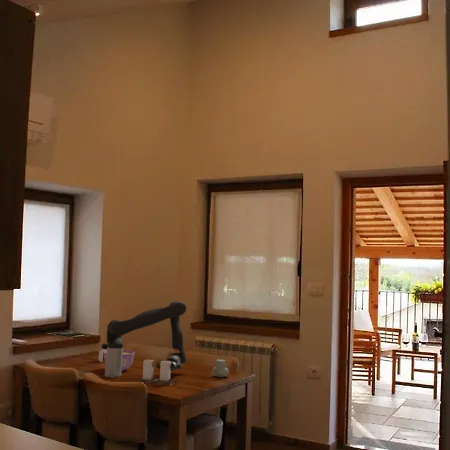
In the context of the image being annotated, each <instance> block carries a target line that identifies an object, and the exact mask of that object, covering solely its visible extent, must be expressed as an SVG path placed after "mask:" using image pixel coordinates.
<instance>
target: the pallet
mask: <svg viewBox="0 0 450 450" xmlns="http://www.w3.org/2000/svg"><path fill="white" fill-rule="evenodd" d="M138 382H144V383H145V385H154V386H155V385H157V386H159V385H160V386H173V385H174V384H175V383H176V381H175V379H174V378H170V382H165V381H160V377H153V381H151V380H143V376H142V377H140V379H138Z"/></svg>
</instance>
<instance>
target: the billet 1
mask: <svg viewBox="0 0 450 450" xmlns="http://www.w3.org/2000/svg"><path fill="white" fill-rule="evenodd" d="M142 363H143V364H142V365H143V367H142V377H143V380H151V381H153V378H154V369H155V359H144V360H143V362H142Z"/></svg>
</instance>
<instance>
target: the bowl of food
mask: <svg viewBox="0 0 450 450" xmlns="http://www.w3.org/2000/svg"><path fill="white" fill-rule="evenodd" d="M135 353H136V352H135V351H134V350H129V349H123V356H122V372H125V370H127V369H129V368H130V367H132V364H133V361H134V358H135V355H136V354H135ZM103 354H104V359H105V361H106V360H107V350H105V351H103Z"/></svg>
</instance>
